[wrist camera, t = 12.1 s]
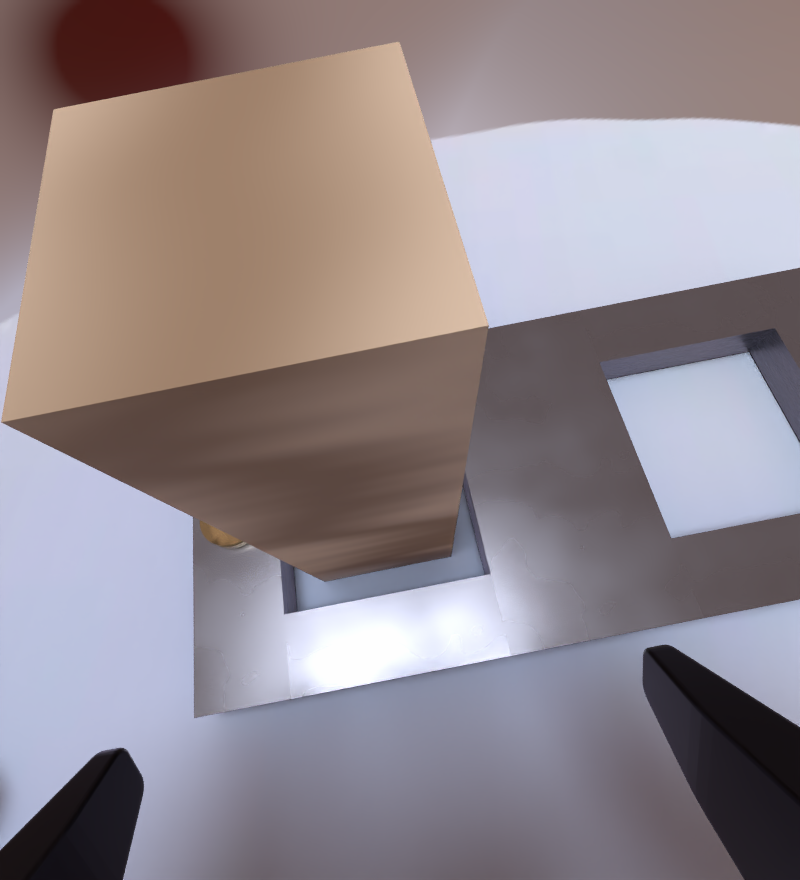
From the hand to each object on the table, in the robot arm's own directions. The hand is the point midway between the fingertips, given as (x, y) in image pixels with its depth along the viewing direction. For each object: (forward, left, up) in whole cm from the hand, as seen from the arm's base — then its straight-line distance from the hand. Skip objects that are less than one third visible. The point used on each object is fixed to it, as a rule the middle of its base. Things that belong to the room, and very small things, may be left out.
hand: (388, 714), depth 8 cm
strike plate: (-1, -8, -7) cm, 11 cm away
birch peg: (+4, -4, -7) cm, 9 cm away
